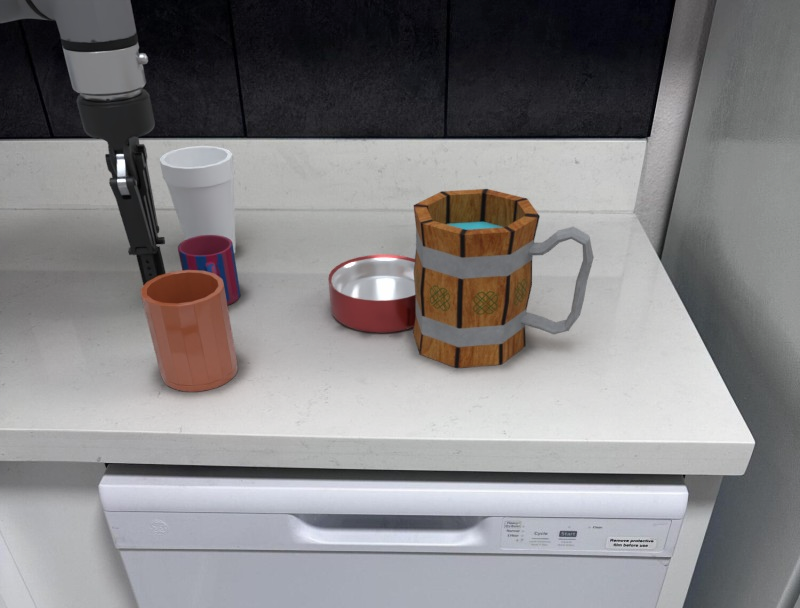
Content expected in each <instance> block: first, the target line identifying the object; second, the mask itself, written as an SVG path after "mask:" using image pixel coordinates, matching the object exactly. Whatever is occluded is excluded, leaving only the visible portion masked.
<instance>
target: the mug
mask: <svg viewBox="0 0 800 608" xmlns="http://www.w3.org/2000/svg"><path fill="white" fill-rule="evenodd" d="M413 214H414V222H415V244H416V255H415V265H414V282H415V294H416V315H415V322H414V327H413V329H412V330H413V331H412V334H413V337H414V340H415V344H416V347H417V350H418V354H419V355H420V356H423V357H426V358H429V359H432V360H435V361H436V362H438V363H439V362H440V363H441V364H444V365H447V366H450V367H453V368H456V369H459V368H460V369H462V368H474V367H487V366H501V365H503V364H504V363H506V362H507V361H509V360H510V359H511V358H513V357H514V356H515V355H516V354H517V353H519V352H520V351H521V350H522V349H524V348H525V347H526V326H527V327H530V328H535V329H538V330H541V331H543V332H546V333H549V334H552V335H557V334H561V333H565V332H569V331H570V329H571V328H572V327H573V325H574V324H575V323H576V321H577V320H578V318H579V317H580V316H581V312H582V309H583V305H584V302H585V295H586V290H587V284H588V279H589V277H590V273H591V269H592V265H593V263H594V262H593V261H594V258H595V257H594V253H593V247H592V242H591V236H590V234H588V233H586V232H585V231H582V230H581V229H579V228H577V227H575V226H571V227H567V228H563V229H559V230H557V231H556V232H555V233H553V234H552V235H551V236H549V237H548V238H547V239H546V240H543V241H542V242H535V238H536V235H537V231H538V230H537V229H538V225H539V221H540V218H541V215H540V214H539V212H537V210H536V209H535V207H534V206H533V205H532V203H531V202H530V200H529V199H528V198H527V197H522V196H518V195H515V194H510V193H507V192H501V191H497V190H495V189H494V190H493V189H489V188H480V189H479V188H477V189H461V190H459V189H458V190H444V191H439V192H438V193H436V194H434V195H432V196H428V197H427V198H425V199H423V200H422V201H419V202H417V203H415V204H413ZM569 240H573V241H575V242H576V243H578V244H580V245H582V262H581V265H580V268H579V271H578V273H577V278H576V280H575V284H574V285H575V286H574V291H573V298H572V303H571V309H570V312H569V314H568V316H567V318H566V319H564V320H560V321H553V320H551V319H549V318H547V317H545V316H543V315H538V314H536V313H535V314H534V313H531V312H527V310H528V305H529V300H530V296H531V291H532V287H533V257H534V256H544V255H545V254H548V253H549V252H550V251H552V250H553V249H554V248H555V247H556V246H558V245H559V244H560V243H563V242H567V241H569Z"/></svg>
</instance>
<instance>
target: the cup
mask: <svg viewBox="0 0 800 608" xmlns="http://www.w3.org/2000/svg"><path fill="white" fill-rule="evenodd" d="M177 251H178V257H179V261H180V266H181V271H183V270H199V271H206V272H210V273H214V274H216V275H217V276H219V277H220V278H222V280H223V283H224V289H225V294H226V300H227V306H230V305H232V304H234V303H236V302H237V301H238V300H239V299H240V297H241V289H240V288H241V287H240V282H239V276H238V270H237V269H238V268H237V262H236V257H235V254H234V249H233V243H232V241H231V240H230V239H229V238H227V237H224V236H219V235H202V236H196V237H192V238H189V239H187V240H185V239H184V240H183V241H181V242H180V243H179V244H178V246H177Z"/></svg>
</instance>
